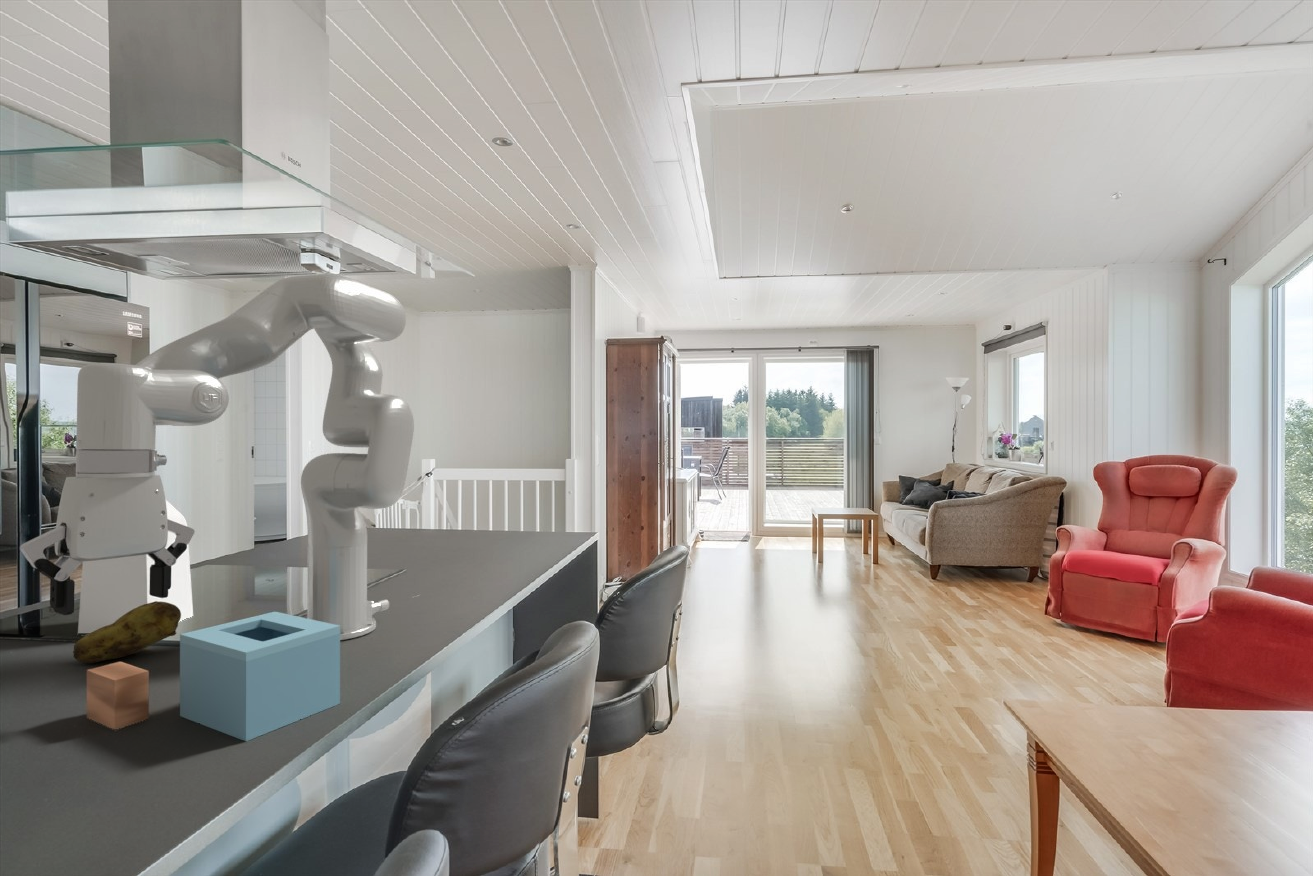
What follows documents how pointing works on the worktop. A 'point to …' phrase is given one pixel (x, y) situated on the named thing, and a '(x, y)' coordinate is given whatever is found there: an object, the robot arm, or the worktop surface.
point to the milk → (131, 585)
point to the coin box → (259, 673)
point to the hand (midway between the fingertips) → (113, 604)
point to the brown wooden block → (117, 694)
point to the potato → (129, 633)
